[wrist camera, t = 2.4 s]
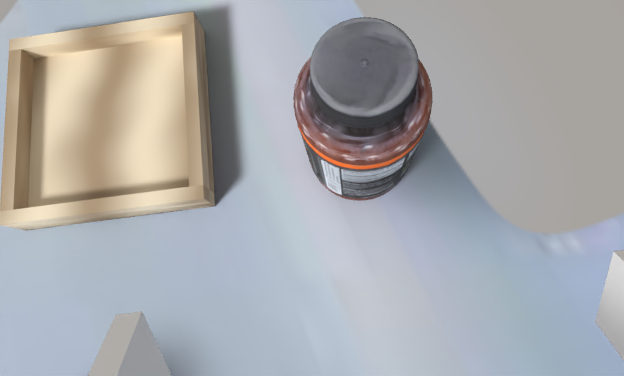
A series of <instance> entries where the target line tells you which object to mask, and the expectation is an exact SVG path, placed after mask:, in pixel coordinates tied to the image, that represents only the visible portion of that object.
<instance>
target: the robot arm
mask: <svg viewBox="0 0 624 376" xmlns="http://www.w3.org/2000/svg"><path fill="white" fill-rule="evenodd" d="M595 323H596V324H597V325H598V327H599V328H600V329H601V331H602V332H603V333H604V335H605V336H606V337H607V339H608V340H609V342H610V343H611V344H612V346H613V347H614V348H615V350H616V351H617V352H618V354H619V355H620V356H621V358H622V359H623V360H624V250H620V251H614V252H613V256H612V259H611V263H610V267H609V271H608V275H607V279H606V282H605V286H604V290H603V294H602V298H601V302H600V305H599V309H598V313H597V317H596V321H595ZM88 376H171V372H170V370H169V368H168V366H167V364H166V362H165V359H164V357H163V355H162V353H161V351H160V349H159V347H158V345H157V342H156V340H155V338H154V336H153V334H152V332H151V330H150V328H149V326H148V323H147V321H146V319H145V317H144V315H143V313H142V312H135V313H127V314H119V315H116V316H115V318H114V320H113V322H112V324H111V326H110V329H109V331H108V333H107V335H106V337H105V340H104V342H103V344H102V346H101V348H100V350H99V353H98V355H97V357H96V359H95V361H94V364H93V366H92V368H91V370H90V372H89V374H88Z"/></svg>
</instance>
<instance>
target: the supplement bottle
mask: <svg viewBox="0 0 624 376" xmlns="http://www.w3.org/2000/svg"><path fill="white" fill-rule="evenodd" d="M431 107H432V88H431V84H430V79H429V77H428V74H427V72H426V70H425V68H424V67H423V65H422V63H421V62H420V60H419V59H418V55H417V52H416V49H415V46H414V45H413V43H412V42H411V40H410V39H409V37H408V36H407V35H406V34H405V33H404V32H403V31H402V30H401V29H400V28H398V27H397V26H395V25H394V24H392V23H390V22H387V21H384V20H381V19H377V18H370V17H369V18H366V17H363V18H354V19H350V20H346V21H343V22H341V23H339V24H337V25H335V26H333V27H332V28H330V29H329V30H328V31H327V32H326V33H325V34H324V35H323V36H322V37H321V38H320V40H319V41H318V43H317V44H316V46H315V48H314V50H313V53H312V56H311V57H310V58H309V60H308V61H307V62H306V63H305V65H304V66H303V67H302V69H301V71H300V73H299V75H298V79H297V82H296V84H295V90H294V109H295V116H296V120H297V123H298V128H299V129H300V132H301V136H302V138H303V142H304V145H305V147H306V151H307V154H308V157H309V161H310V163H311V166H312V169H313V171H314V173H315V175H316V176H317V178H318V179H319V181H320V182H321V183H322V184H323V185H324V186H325V187H326V188H327V189H328V190H329V191H331V192H332V193H334V194H336V195H338V196H340V197H342V198H345V199H350V200H369V199H373V198H376V197H379V196H381V195H384V194H385V193H387V192H389V191H390V190H391V189H392V188H393V187H394V186H395V185H397V183H398V182H399V181H400V180H401V178H402V177H403V176H404V174H405V172H406V170H407V168H408V166H409V164H410V162H411V160H412V157H413V155H414V153H415V151H416V149H417V147H418V144H419V142H420V140H421V138H422V136H423V133H424V131H425V129H426V126H427V124H428V122H429V118H430V114H431Z"/></svg>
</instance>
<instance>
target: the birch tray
mask: <svg viewBox="0 0 624 376" xmlns="http://www.w3.org/2000/svg"><path fill="white" fill-rule="evenodd" d="M212 206H215V191H214V175H213V159H212V142H211V126H210V110H209V94H208V77H207V61H206V45H205V31H204V29H203V28H202V26H201V24H200V22H199V20H198V19H197V17H196V15H195V13H194V11H193V12H187V13H180V14H174V15H167V16H161V17H154V18H148V19H141V20H134V21H128V22H121V23H115V24H108V25H102V26H95V27H89V28H82V29H75V30H69V31H62V32H56V33H49V34H43V35H36V36H30V37H23V38H17V39H10V43H9V61H8V78H7V96H6V114H5V131H4V149H3V167H2V184H1V202H0V225H2V226H7V227H12V228H17V229H22V230H33V229H41V228H48V227H56V226H64V225H72V224H80V223H87V222H95V221H103V220H111V219H119V218H126V217H134V216H142V215H150V214H158V213H165V212H173V211H181V210H189V209H197V208H204V207H212Z"/></svg>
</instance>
